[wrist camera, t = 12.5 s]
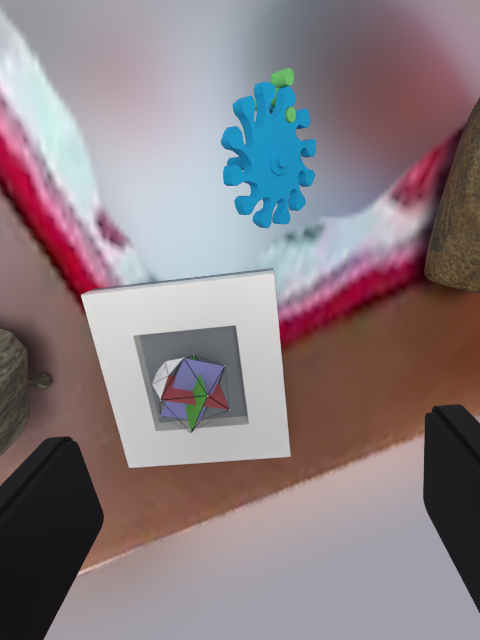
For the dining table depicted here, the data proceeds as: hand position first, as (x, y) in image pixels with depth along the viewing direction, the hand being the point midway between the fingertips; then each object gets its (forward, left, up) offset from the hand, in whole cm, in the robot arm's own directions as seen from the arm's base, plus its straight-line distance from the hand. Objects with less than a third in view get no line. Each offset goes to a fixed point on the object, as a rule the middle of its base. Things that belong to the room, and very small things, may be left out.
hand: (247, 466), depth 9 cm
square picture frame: (+7, +9, -25) cm, 27 cm away
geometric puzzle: (+7, +9, -24) cm, 26 cm away
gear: (-3, -10, -25) cm, 27 cm away
